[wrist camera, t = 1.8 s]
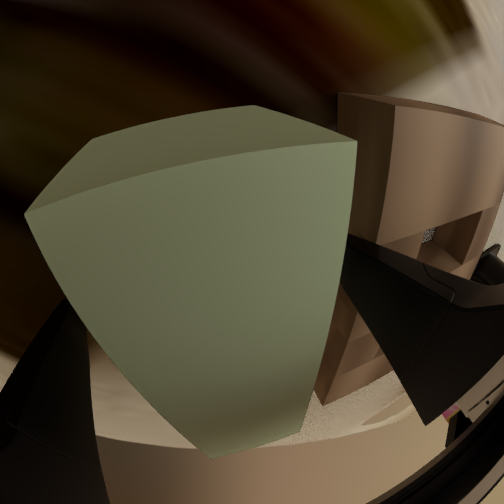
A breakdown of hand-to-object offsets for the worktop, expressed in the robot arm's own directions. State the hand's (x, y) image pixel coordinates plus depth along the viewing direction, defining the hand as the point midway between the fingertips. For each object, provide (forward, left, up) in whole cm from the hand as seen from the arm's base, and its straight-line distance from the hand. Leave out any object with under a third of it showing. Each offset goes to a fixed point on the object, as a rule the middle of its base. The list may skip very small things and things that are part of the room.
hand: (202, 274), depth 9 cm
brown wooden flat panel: (-12, +5, -2) cm, 13 cm away
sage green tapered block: (0, 0, -2) cm, 2 cm away
